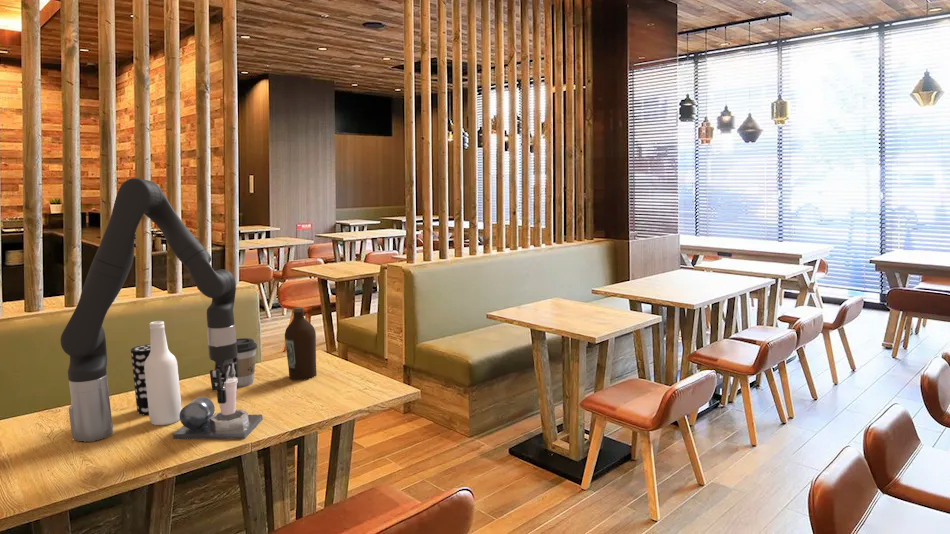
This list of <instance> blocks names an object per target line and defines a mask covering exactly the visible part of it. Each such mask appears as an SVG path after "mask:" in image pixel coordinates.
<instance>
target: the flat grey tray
mask: <svg viewBox="0 0 950 534" xmlns="http://www.w3.org/2000/svg"><path fill="white" fill-rule="evenodd" d="M215 408H216V407H215V404H214V402H213V401H212V400H211V399H210V398H209V397H206V396H198V397H196V398H194V399H193V400H192V401H190V402H189V403H188V404H187V405H186V404H185V406H184V407H183V408H182V410H181V412H180V420H179V421H180V424H182V426H181V427H180V428H178V429H177V430H176V431H175V432H174V433H172V438H173V440H222V439H223V440H231V439H233V440H235V439H236V440H237V439H239V440H241V439H242V440H243V439H246V438H247V437H248V436H249V435H250V434H251V433H252V432H253V431H254V430H255V429H256V428H257V426H258V425H259V424H260V423H261V422H262V421H263V420H264V419H263V418H264V417H263V414H249V412H247V411H245V410H244V409H235V413H233V414H230V415H222V413H221V411H219V412H215V410H216V409H215Z"/></svg>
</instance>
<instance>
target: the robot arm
mask: <svg viewBox="0 0 950 534" xmlns="http://www.w3.org/2000/svg"><path fill="white" fill-rule="evenodd" d="M144 215H145V216H146V217H147V218H148V219H150V220H151V221H152V222H153V223H154V224H155V225H156V227H158V229H159V230H160V231H161V233H162V235H163V236H164V238H165V240H166V243H167V245H168V247H169V248H170V250H171V251H172V253H173V254H174V256H176V258H178V259H177V260H179V261H180V262H181V263H182V265H183V266H184V267H185V268H186V269H187V270H188V273H189V274H190V276H191V278H192V280H193V282H194V285H195V286H196V288H197V289H198V291H199V292H200V293H201V294H202V295H203V296H205V297H207V298H210V299H211V303H210V305H209V306H208V307H207V309H206V323H207V336H206V337H207V348H208V359H210V360H211V361H213V362H214V369H211V370H209V377H210V385H211V390H212V391H214V392H215V391H216V398H217V404H219V405H220V404H222V403H226V390H225V387H226V384H225V383H226V382H228V377H236V378H238V357H237V355H238V352H237V339H238V338H237V331H236V327H235V316H234V307H235V306H234V305H235V302H236V301H235V300H236V292H237V284H236V279H235V277H234V274H232V272H231V271H229V270H227V269H218V270H214V268H213V266H212V265H211V261H212V256H211V255H210V253H209V252H208V250H207V249H205V247H204V246H203V245H202V243H201V242H200V241H199V240H198V239H197V237H195V236H194V234H193V233H192V232H191V231H190V230H189V229H188V227H187V226H186V225H185V223H184V222H183V221H182V220H181V218H180V217H179V216H178V214H177V213H176V211H175V209H174V208H173V207H172V205H171V203H170V201H169V200H168V198H167V196H166V195H165V193H164V192H163V190H162V189H161V187H160V186H159V185H158V184H157V183H155V182H153V181H151V180H147V179H144V178H138V177H133V178H129V179H127V180H125V181H124V182H123V183H122V184H121V185H120V187H119V188H118V191H117V194H116V196H115V199H114V203H113V207H112V210H111V215H110V218H109V221H108V223H107V227H106V229H105V231H104V233H103V236H102V238H101V241H100V243H99V246H98V248H97V250H96V253H95V255H94V257H93V259H92V262H91V263H90V267H89V270H88V273H87V275H86V278H85V281H84V283H83V287H82V291H81V292H80V297H79V300H78V302H77V305H76V307H75V309H74V311H73V312H72V315H71V317H70V318H69V320H68V322H67V324H66V325H65V328H64V329H63V331H62V333H61V336H60V340H59V341H60V346H61V349H62V350H63V352H64V353H65V354H66V355H68V356H69V366H68V369H67V378H68V384H69V386H68V387H69V393H70V401H71V405H70V406H68V417H69V424H70V425H69V426H70V434H71V440H72V439H76V440H78V441H77V442H79V441H84V442H83V443H87V442H86V441H92V442H96V441H95V440H97V441H100V440H99V439H101V440H104V439H106V438H108V436H109V437H111V436H112V435H113V434H114V426H113V417H112V416H113V415H112V408H111V399H110V391H109V390H110V389H109V382H108V374H107V366H108V352H107V351H108V350H107V342H106V341H107V339H106V332H105V329H104V327H103V323H104V321H105V318H106V315H107V313H108V311H109V309H110V308H111V306H112V304H113V303H114V301H115V300H116V298H118V297H117V296H118V295H119V294H120V292H121V290H122V288H123V287H124V284H125V282H126V280H127V278H128V276H129V274H130V271H131V268H132V266H133V263H134V255H135V236H136V233H137V228H138V226H139V224H140V222H141V220H142V217H143V216H144ZM221 378H224V379H221ZM222 382H223V384H222ZM215 383H216V384H215ZM112 433H113V434H112ZM111 434H112V435H111ZM103 438H104V439H103ZM76 440H75V441H76Z"/></svg>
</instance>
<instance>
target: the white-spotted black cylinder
mask: <svg viewBox="0 0 950 534" xmlns="http://www.w3.org/2000/svg"><path fill="white" fill-rule="evenodd" d="M150 351H151V347H150V344H143V345H137V346H135V347H132V348H131V349H130V354H131V355H130V356H131V364H132V365H131V367H132V376H133V385H134V392H135V405H136V413H137V414H138V415H140V414H142V415H141V416H148V415H147V414H149V409H148V399H147V389H146V380H145V370H144V365H145V361H146V359H147V357H148V356H149V355H150ZM143 414H144V415H143Z"/></svg>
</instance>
